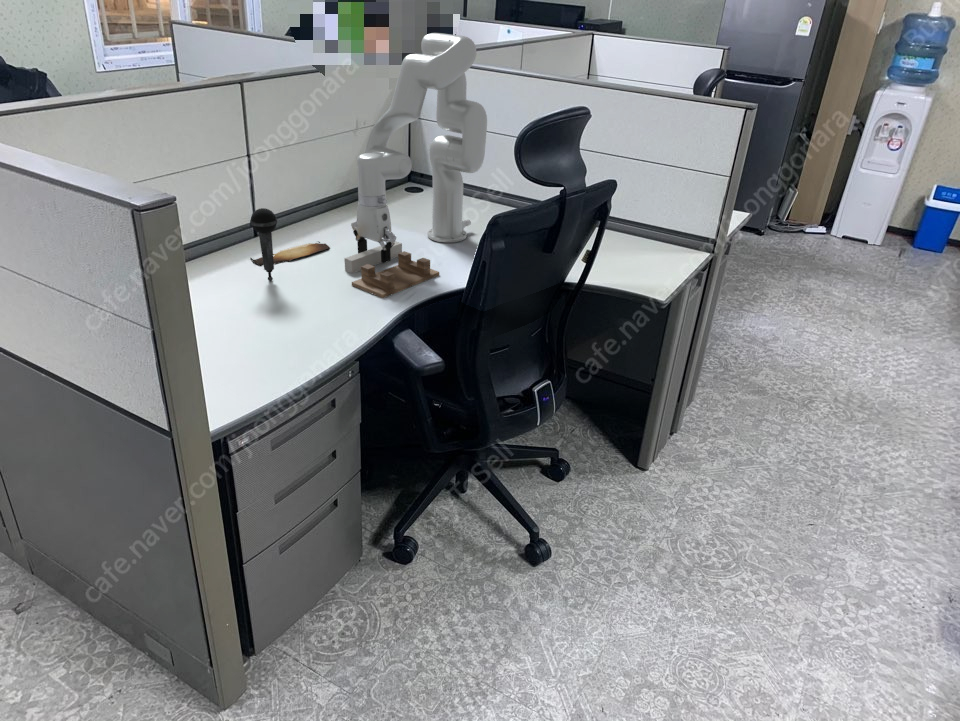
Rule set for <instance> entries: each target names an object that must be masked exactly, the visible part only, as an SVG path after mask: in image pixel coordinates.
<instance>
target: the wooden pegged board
mask: <svg viewBox="0 0 960 721" xmlns="http://www.w3.org/2000/svg"><path fill="white" fill-rule="evenodd" d="M360 271H361V272H360V273H361V278H359V279H357V280H354V281H351V286H352V287H355V288H357V289H359V288H360V289H359V290H362V291H364V292H366V293H369V292H370V294H371V293H373V294H372V295H374V294H375V296H376V295H377V297H378V298H381V297H382V299H384V297H385V298H387V297H389V295H390V296H392V295H394V294H397V293H400V292H401V291H404V290H406V289H409V288H411V287H414V286H416V285H419V284H421V283H424V282H425V281H429V280H431V279H433V278H435V277H438V276H440V271H439V270H436V269H432V268H431V259H428V258H426V257H422V258H418V259H416V261H414V260H412V253H411V252H408V251H405V250H402V252H400V253H398V257H397V265H396V264H395V265H394V266H392V267H389V268H386V269H383V270H380V271H378V272H376V265H374V266H372V265H369V264H367V265H364V266H361V270H360ZM391 294H392V295H391Z"/></svg>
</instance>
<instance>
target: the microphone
mask: <svg viewBox="0 0 960 721" xmlns="http://www.w3.org/2000/svg"><path fill="white" fill-rule="evenodd" d="M249 223H250V225H251V227H252V229H253V230H254V231H255V232H257V233H258V237H259V244H260V251H261V256H262V258H263V265H262V266H263V270H264V271H265V272H267V274H268V277H267V280H268V281H269V282H272V281H273V279H274V278H273V276H272V272H273V270H275V264H274V260H273V256H274V255H273V254H274V248H273V233H272V232H273V231H274V230H275V229H276V227H277V224H278V219H277V216H276V215H275V213H274V212H273V211H272V210H271V209H268V208H258V209H256V210H255V211H253V213H252V214H251V216H250V220H249Z"/></svg>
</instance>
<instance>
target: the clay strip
mask: <svg viewBox="0 0 960 721" xmlns="http://www.w3.org/2000/svg"><path fill="white" fill-rule="evenodd" d="M394 243H395V244H394V245H393V246H392V248H390V250H391V260H393V259H395V257H396V258H398V253H400V252H403V243H402V242H398V241H396V240H395V242H394ZM384 244H385V245H386V243H384ZM381 250H382V247H381V245H379V246H376V247H373V248H370V249H367V251H364V252H361V253H358V252H357V253H356V254H353V255H350V256H347V257H343V258H344V271H345V272H348V273H350V274H355V273H357V272H360V271H361V266H364V265H367V264H369V265H372V266H373V265H374V266H376V264H377V265H379V264H381V263H382V262H381ZM392 258H393V259H392ZM382 264H383V263H382Z"/></svg>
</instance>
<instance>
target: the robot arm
mask: <svg viewBox="0 0 960 721" xmlns="http://www.w3.org/2000/svg"><path fill="white" fill-rule="evenodd" d="M420 45H421V46H420V48H421V53H410V54H407V55H406V56H405V57H404V58H403V60H402V62H401V65H400V69H399V72H398V76H397V79H396V84H395V88H394V92H393V94H392V99H391V103H390V105H389V108H388V110H387V111H386V112H384V113H383V114H382V115H381V116H380V118H379V119H378V120H377V121H376V123H375V124H374V125H373V127H372V128H371V130H370V132H369V134H368V138H367V141H366V145H365V149H364V153H362V154H359V155H358V156H357V157H356V158H357V159H356V167H357V170H356V171H357V172H356V173H357V193H358V194H357V195H358V203H357V209H356V221H355V222H351V225H350V226H351V229H352V231H353V235H354V237H355V241H357V243H356V244H357V254H358V253H361V252H364V251H367V250H368V240H370V241H373V242H376V243H379V246H381V247H382V250H381V262H382V264H385V263H388V262H389V263H390V262H391V261H392V259H391V250H390V248H392V246H393V245H394V244H395V243H394V242H395V241H396V240H397V236H396V235H395V234H394V233H393V232H392V222H391V216H390V209H389V206H388V204H387V202H388V201H387V200H388V199H387V196H386V195H387V194H386V181H387V180H401V179H404V178H406V177H407V176H408V175H409V174H410V173H411V171H412V169H413V168H412V167H413V163H412V159H411V157H410V156H409V155H408V154H407V153H405V152H402V151H400V150H396V149H393V148H388V147H387V146H388V144H389V141H390V138H391V137H392V135H393V134H394V133H395V132H396V131H397V130H398V129H400V128H402V127H404V126H406V125H409V124H410V123H413V122H416V121H417V120H418V119H419V118H420V116H421V113H422V111H423V110H422V109H423V106H424V103H425V99H426V94H427V91H428V90H429V89H430V90H434V91H435V90H436V91H437V94H436V96H437V97H436V114H435V115H436V118H435V119H436V124H437V125H438V127H439V128H440V129H442V130H445V131H447V132H452V133H456V134H461V135H462V137H459V136H454V135H450V134H441V135H438V136H436V137H435V138H434V139H433V140H432V141H431V143H430V145H429V149H428V150H429V152H428V153H429V159H430V166H431V174H432V175H431V176H432V208H431V209H432V212H431V213H432V217H431V218H432V221H431V222H432V224H431V225H432V226H431V229H428V231H427V238H429V239H430V240H432V241H434V242H438V243H449V244H450V243H459V242H462V241H464V240H465V239H467V236H468V234H467V231H465V228H466V227H469V226H470V225H471V224H472V222H471V220H470V219H466V220H463V209H464V207H463V204H464V202H463V201H464V180H463V175H462V173H466V174H475V173H476V172H478V171H479V170H480V169H481V168H482V165H483V164H484V160H485V152H486V142H487V141H486V140H487V131H488V115H487V111H486V109H485V107H484V106H483V105H482V104H481V103H479V102H477V101H474V100H468V99H467V76H466V72H467V71H469V69H470V68H471V67H472V66H473V64H475V61H476V57H477V46H476V44H475V42H474V41H473V40H472V39H471V38H470V37H468V36H465V35H459V34H458V35H457V34H450V33H441V32H431V33H428V34H425V35H424V36H423V37H422V40H421V42H420ZM385 244H386V245H385Z"/></svg>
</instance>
